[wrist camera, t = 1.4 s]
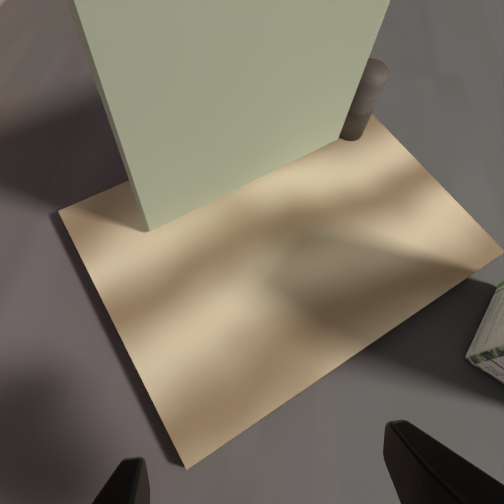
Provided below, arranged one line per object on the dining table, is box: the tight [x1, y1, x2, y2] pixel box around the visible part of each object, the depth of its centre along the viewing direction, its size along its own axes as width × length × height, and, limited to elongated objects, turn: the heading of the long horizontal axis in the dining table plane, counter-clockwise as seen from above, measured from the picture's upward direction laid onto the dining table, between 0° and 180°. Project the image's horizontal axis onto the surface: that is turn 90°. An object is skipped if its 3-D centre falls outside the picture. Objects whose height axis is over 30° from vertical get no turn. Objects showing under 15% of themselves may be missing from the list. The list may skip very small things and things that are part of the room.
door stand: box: [58, 58, 504, 470], centre depth 22 cm, size 16×22×6 cm
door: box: [67, 0, 390, 232], centre depth 19 cm, size 3×14×14 cm, turn 123°
